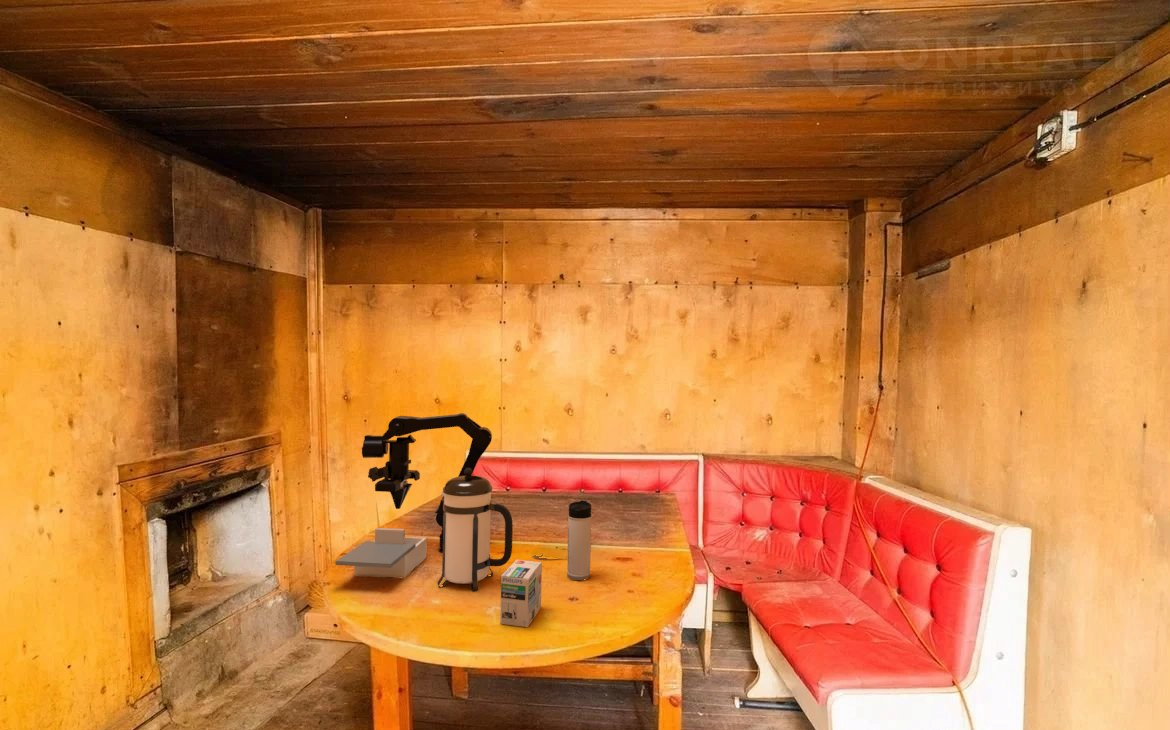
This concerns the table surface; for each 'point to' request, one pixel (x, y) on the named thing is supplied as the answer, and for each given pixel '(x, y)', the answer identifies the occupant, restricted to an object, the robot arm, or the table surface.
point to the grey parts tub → (401, 566)
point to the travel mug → (579, 540)
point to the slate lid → (379, 550)
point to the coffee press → (470, 530)
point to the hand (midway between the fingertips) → (398, 508)
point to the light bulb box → (521, 593)
